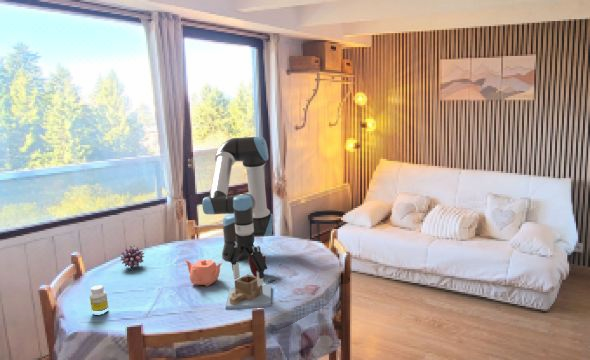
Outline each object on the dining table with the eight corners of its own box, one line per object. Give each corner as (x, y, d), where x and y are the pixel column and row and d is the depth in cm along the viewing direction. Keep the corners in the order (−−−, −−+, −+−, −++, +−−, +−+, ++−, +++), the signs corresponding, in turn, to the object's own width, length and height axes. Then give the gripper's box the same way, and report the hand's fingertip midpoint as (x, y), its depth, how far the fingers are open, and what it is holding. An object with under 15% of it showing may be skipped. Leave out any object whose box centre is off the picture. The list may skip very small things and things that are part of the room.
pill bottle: (95, 310, 186) (91, 284, 184) (110, 308, 186) (107, 283, 184) (90, 317, 180) (86, 291, 178) (105, 315, 180) (102, 289, 178)
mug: (269, 279, 209) (268, 258, 207) (252, 281, 206) (251, 261, 204) (264, 271, 218) (263, 251, 217) (248, 273, 216) (246, 253, 214)
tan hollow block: (248, 289, 195) (247, 274, 194) (262, 293, 190) (261, 278, 189) (225, 301, 184) (223, 285, 183) (239, 306, 179) (237, 290, 178)
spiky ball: (145, 262, 239) (143, 240, 237) (145, 269, 228) (143, 247, 226) (122, 265, 236) (119, 243, 234) (121, 273, 225) (118, 250, 222)
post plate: (230, 290, 198) (229, 278, 197) (271, 287, 199) (270, 275, 198) (225, 308, 180) (224, 296, 180) (270, 306, 181) (269, 293, 180)
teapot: (225, 284, 205) (223, 261, 203) (193, 292, 199) (191, 268, 197) (215, 274, 218) (213, 252, 216) (186, 280, 211) (184, 258, 209)
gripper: (217, 231, 189) (221, 278, 193) (261, 240, 174) (264, 291, 178) (229, 226, 195) (233, 272, 199) (273, 235, 180) (277, 284, 184)
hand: (248, 281), depth 189 cm, fingers open, 13 cm apart
